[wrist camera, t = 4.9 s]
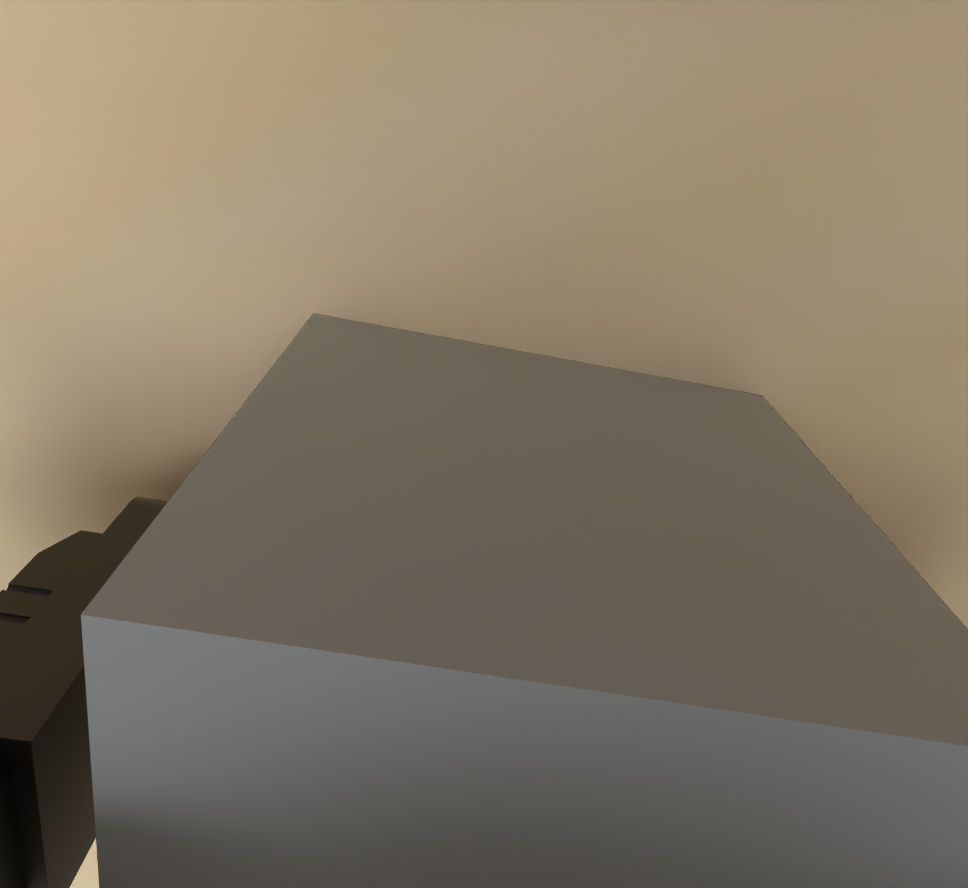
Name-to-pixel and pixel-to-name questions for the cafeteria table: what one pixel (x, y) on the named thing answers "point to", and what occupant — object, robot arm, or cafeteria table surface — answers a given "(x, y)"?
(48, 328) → the cafeteria table surface
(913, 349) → the cafeteria table surface
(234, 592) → the slate cube
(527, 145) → the cafeteria table surface
